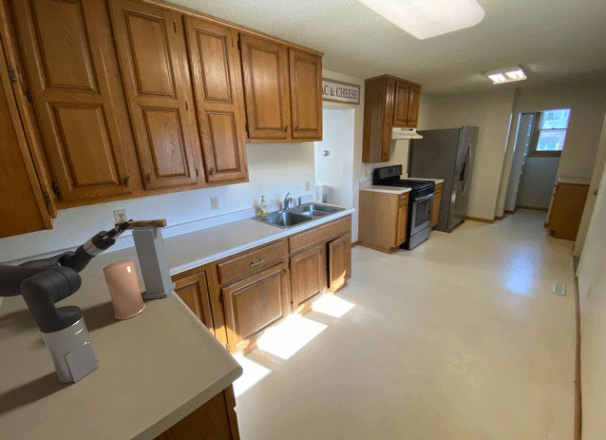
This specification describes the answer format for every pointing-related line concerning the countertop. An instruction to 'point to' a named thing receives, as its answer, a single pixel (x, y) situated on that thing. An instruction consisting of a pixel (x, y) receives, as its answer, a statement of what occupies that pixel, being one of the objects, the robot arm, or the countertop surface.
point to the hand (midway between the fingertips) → (130, 222)
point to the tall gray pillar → (153, 262)
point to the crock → (124, 289)
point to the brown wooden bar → (144, 223)
